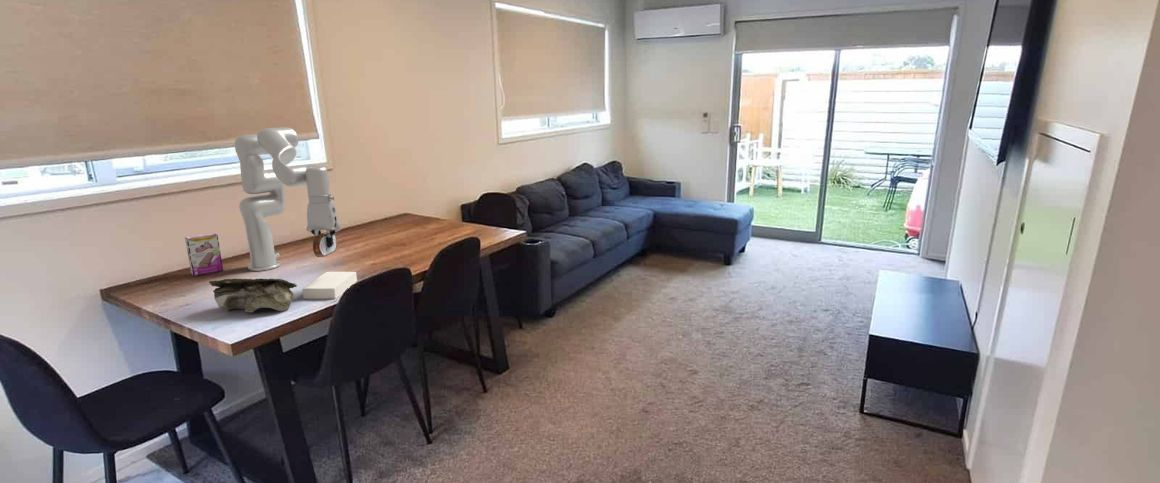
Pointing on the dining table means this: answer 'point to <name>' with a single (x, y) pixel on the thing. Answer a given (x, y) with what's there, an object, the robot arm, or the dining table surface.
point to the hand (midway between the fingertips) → (325, 246)
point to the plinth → (329, 285)
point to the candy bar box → (204, 254)
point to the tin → (323, 245)
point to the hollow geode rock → (253, 294)
